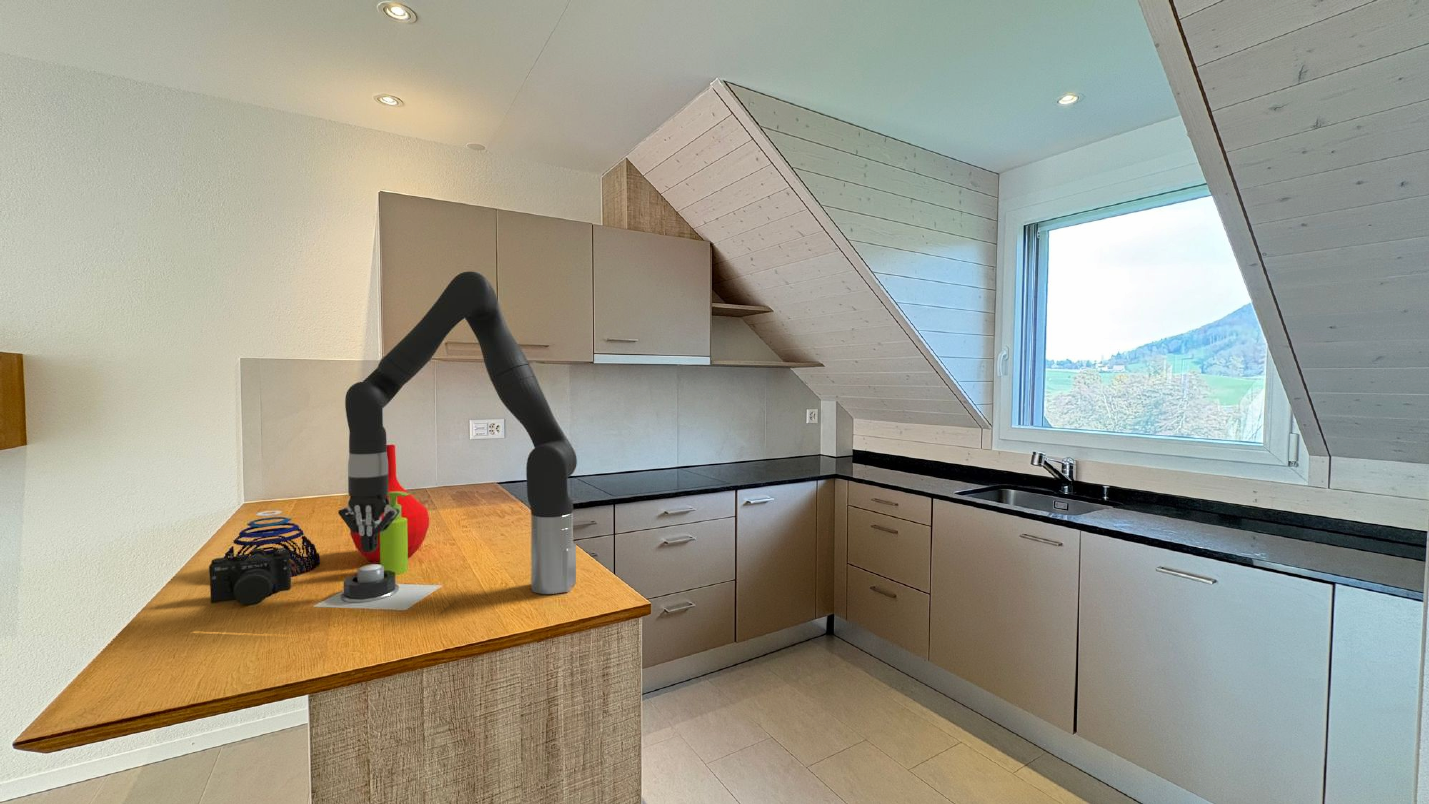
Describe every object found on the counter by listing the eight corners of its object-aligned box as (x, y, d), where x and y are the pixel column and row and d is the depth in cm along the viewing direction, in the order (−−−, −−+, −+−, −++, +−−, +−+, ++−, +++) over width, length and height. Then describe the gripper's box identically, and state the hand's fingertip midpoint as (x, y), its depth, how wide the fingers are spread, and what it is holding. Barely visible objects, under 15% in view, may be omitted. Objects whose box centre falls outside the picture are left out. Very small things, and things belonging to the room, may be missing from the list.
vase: (356, 573, 142) (353, 451, 141) (345, 555, 157) (343, 444, 155) (437, 559, 154) (435, 446, 152) (420, 543, 168) (419, 440, 167)
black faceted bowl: (409, 585, 134) (409, 570, 133) (378, 603, 123) (378, 587, 122) (363, 583, 134) (362, 568, 134) (328, 602, 123) (327, 585, 123)
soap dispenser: (399, 578, 139) (398, 495, 138) (374, 576, 140) (373, 493, 140) (417, 570, 145) (415, 490, 144) (392, 568, 146) (391, 489, 145)
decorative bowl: (216, 591, 130) (214, 527, 130) (216, 568, 146) (215, 511, 145) (324, 572, 143) (322, 514, 143) (313, 553, 158) (312, 500, 158)
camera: (200, 615, 117) (198, 566, 117) (214, 597, 127) (212, 552, 126) (285, 602, 124) (284, 556, 124) (292, 586, 133) (291, 543, 133)
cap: (388, 587, 131) (388, 564, 130) (374, 595, 126) (374, 571, 125) (367, 586, 131) (367, 563, 131) (352, 594, 126) (351, 570, 126)
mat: (442, 587, 134) (442, 585, 134) (405, 611, 120) (405, 609, 120) (358, 584, 135) (358, 582, 135) (312, 608, 121) (312, 606, 121)
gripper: (407, 471, 131) (408, 547, 131) (351, 469, 132) (352, 545, 132) (386, 476, 123) (387, 558, 124) (327, 475, 124) (328, 555, 125)
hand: (369, 551), depth 128 cm, fingers closed
